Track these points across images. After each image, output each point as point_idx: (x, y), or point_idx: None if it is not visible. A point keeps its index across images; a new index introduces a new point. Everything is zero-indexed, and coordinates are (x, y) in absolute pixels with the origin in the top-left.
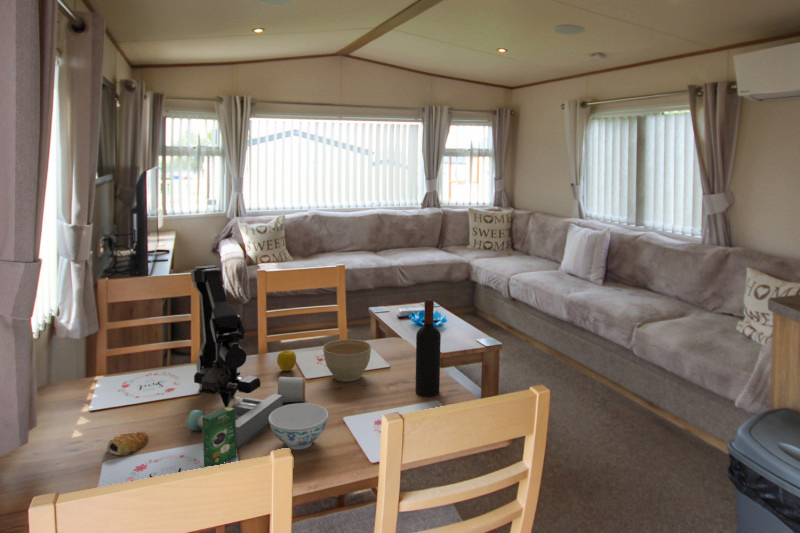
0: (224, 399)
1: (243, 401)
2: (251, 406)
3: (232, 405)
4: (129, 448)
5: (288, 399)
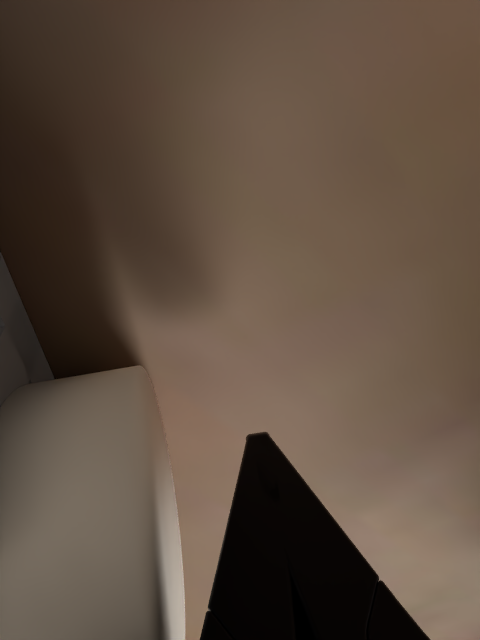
0: (304, 574)
1: None
2: None
3: (26, 520)
4: None
5: None
